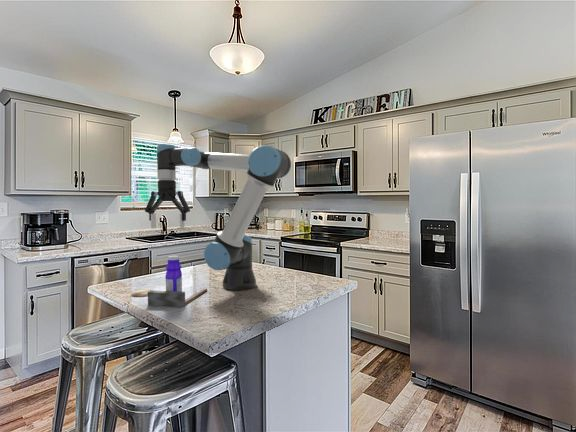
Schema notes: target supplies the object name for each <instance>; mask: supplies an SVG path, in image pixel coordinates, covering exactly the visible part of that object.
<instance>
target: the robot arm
mask: <svg viewBox="0 0 576 432" xmlns="http://www.w3.org/2000/svg"><path fill="white" fill-rule="evenodd" d="M156 160H157V161H156V162H157V163H156V165H157V169H156V170H157V191H154V190H151V192H150V198H149V200H148V202H147V204H146V206H145V209H144V213H148V217H149V218H148V219H149V220H148V221H150V228H151V229H156V228H157V214H156V213H155V212H156V211H157V209H158V208H159V207H160V206H161V205H162V203H163V202H171V203H173V205H175V207H176V208H177V210H179V212H180V213H179V229H182V230H183V229H185V221H187V213H189V212H191V209H190V207H189V204H188V203H187V200H186V199H185V197H184V193H183V190H177V191H176V189H177V182H176V167H181V166H182V167H190V168H191V167H192V168H197V169H202V170H218V171H220V170H221V171H233V172H244V173H245V172H246V175H247V180H246V182H245V184H244V187H243V189H242V191H241V192H240V194H239V197H238V199H237V201H236V203H235V205H234V207H233V209H232V211H231V213H230V215H229V217H228V219H227V222H226V223H225V226H224V227H223V230H221V231H220V230H219V231H218V232H217V233H216V236H215V238H214V239H213V241H212V242H209V243H208V244H207V245H206V246H205V248H204V251H203V258H204V260H205V263H206V265H207V266H208V267H209V268H210V269H212V270H214V271H224V270H225V271H224V272H225V273H224V276H223V279H222V288H223V289H226V290H231V291H242V290H243V291H244V290H251V289H254V288H255V287H257V279H256V276H255V273H254V271H253V241H252V237H251V236H249V235H246V233H247V231H248V228H249V226H250V224H251V223H252V221H253V218H254V217H255V215H256V212H257V211H258V208H259V207H260V205H261V203H262V201H263V199H264V197H265V195H266V193H267V191H268V189H270V188H273V187H274V186H275V184H276V181H277V180H278V179H282V178H284V177H286V176H287V175H288V174H289V172H290V170H291V167H292V161H291V158H290V156H289V155H288V154H287V153H286V152H285V151H283V150H280V149H278V148H275V147H274V146H272V145H266V144H265V145H259V146H257V147H255V148H254V149H253V150H252V151H251V152H250V154H243V153H228V152H227V153H223V152H211V151H201V150H199V149H198V148H197V147H190V146H187V147H178V148H176V146H175V145H174V144H172V143H159V144H158V145H157V147H156ZM177 197H178V199H179V200H178V199H177ZM156 198H157V199H156Z"/></svg>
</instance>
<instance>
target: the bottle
mask: <svg viewBox="0 0 576 432" xmlns="http://www.w3.org/2000/svg"><path fill="white" fill-rule="evenodd" d="M165 269H166V273H165V291H179V292H183V288H182V287H183V277H182V275H183V273H182V266H181V264H180V255H168V256H167V265H166V267H165Z"/></svg>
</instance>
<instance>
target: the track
mask: <svg viewBox="0 0 576 432" xmlns="http://www.w3.org/2000/svg"><path fill="white" fill-rule="evenodd" d="M150 290H151V291H149V292H148V296H147V306H149V307H151V306H153V307H166V308H167V307H169V308H170V307H172V308H183V307H185V306H186V305H187V304H189V303H191V302H192V301H194V300H196V299H197V298H199V297H200V296H202V295H203V294H205V293H207V292H208V288H203V289H201V290H200V291H197V292H195V293H194V294H192V295H191V296H189V297H187V298H186V291H182V292H179V291H166V290H154V289H150ZM153 290H154V291H153Z"/></svg>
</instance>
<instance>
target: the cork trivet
mask: <svg viewBox="0 0 576 432" xmlns="http://www.w3.org/2000/svg"><path fill="white" fill-rule="evenodd" d="M151 290H153V291H155V290H154V289H140V290H135V291H133V292H131V296H132V297H135V298H143V297H148V292H149V291H151Z"/></svg>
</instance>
